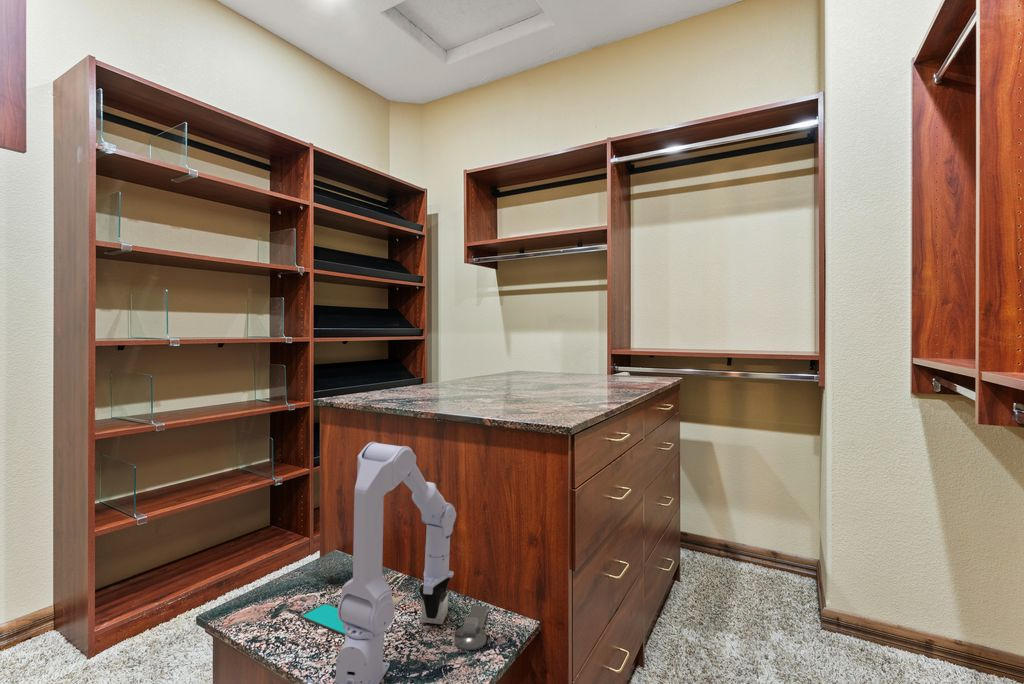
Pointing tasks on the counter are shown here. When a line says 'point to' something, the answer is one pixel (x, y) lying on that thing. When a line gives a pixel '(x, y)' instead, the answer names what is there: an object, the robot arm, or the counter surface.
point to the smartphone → (325, 618)
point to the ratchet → (472, 630)
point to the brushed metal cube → (441, 611)
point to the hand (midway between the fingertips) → (434, 611)
